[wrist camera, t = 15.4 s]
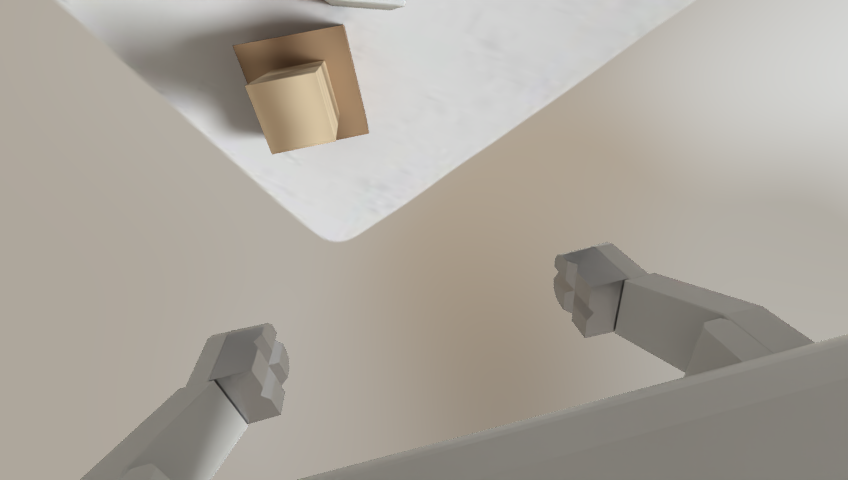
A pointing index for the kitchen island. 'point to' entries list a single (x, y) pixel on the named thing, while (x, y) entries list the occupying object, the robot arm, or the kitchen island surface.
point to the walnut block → (308, 50)
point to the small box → (369, 4)
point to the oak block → (295, 106)
